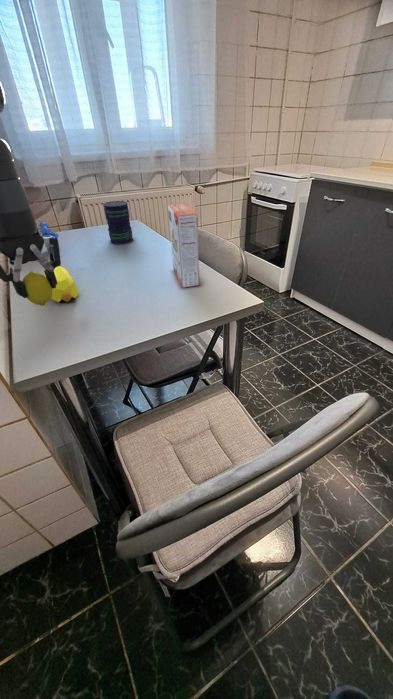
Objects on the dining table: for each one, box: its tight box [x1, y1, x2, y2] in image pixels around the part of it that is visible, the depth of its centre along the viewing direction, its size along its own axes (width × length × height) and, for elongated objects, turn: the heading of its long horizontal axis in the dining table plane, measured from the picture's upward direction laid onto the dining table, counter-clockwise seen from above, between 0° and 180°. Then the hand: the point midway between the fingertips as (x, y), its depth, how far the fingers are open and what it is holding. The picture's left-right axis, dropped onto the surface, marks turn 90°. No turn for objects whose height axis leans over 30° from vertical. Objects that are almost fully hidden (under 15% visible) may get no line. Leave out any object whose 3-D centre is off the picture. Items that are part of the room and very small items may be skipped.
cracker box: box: [167, 203, 200, 289], centre depth 89 cm, size 14×6×21 cm, turn 14°
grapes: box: [38, 220, 60, 251], centre depth 116 cm, size 12×7×12 cm, turn 23°
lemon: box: [21, 270, 52, 307], centre depth 64 cm, size 6×6×8 cm
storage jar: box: [103, 200, 134, 245], centre depth 124 cm, size 10×10×15 cm
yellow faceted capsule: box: [43, 265, 80, 303], centre depth 87 cm, size 18×7×8 cm
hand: (38, 291), depth 64 cm, fingers closed on lemon, 5 cm apart
